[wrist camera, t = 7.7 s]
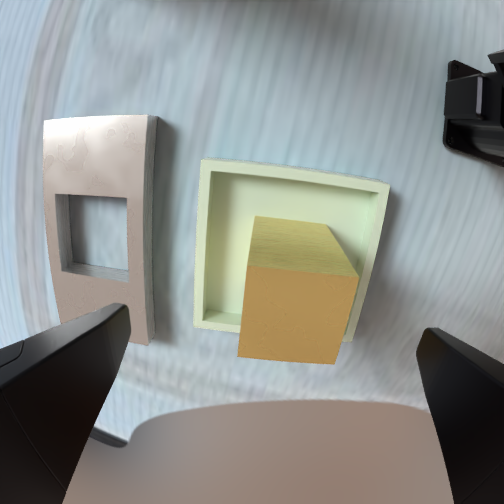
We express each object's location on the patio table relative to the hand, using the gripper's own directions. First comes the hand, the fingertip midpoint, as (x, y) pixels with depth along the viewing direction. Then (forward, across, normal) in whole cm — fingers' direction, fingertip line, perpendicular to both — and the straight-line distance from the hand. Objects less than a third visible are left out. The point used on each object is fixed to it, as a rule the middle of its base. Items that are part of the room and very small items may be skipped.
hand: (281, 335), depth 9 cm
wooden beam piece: (+12, -1, +2) cm, 12 cm away
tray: (+12, -1, +2) cm, 13 cm away
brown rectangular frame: (+12, +12, +2) cm, 17 cm away
